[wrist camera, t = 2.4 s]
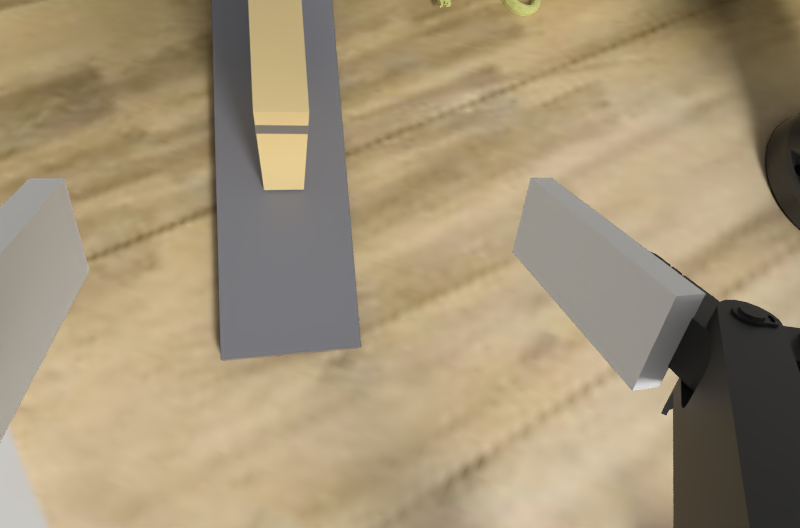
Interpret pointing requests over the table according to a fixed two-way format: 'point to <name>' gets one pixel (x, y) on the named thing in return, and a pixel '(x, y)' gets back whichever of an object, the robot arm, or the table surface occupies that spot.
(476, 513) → the table surface
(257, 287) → the base
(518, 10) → the key
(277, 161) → the tan cardboard parcel
